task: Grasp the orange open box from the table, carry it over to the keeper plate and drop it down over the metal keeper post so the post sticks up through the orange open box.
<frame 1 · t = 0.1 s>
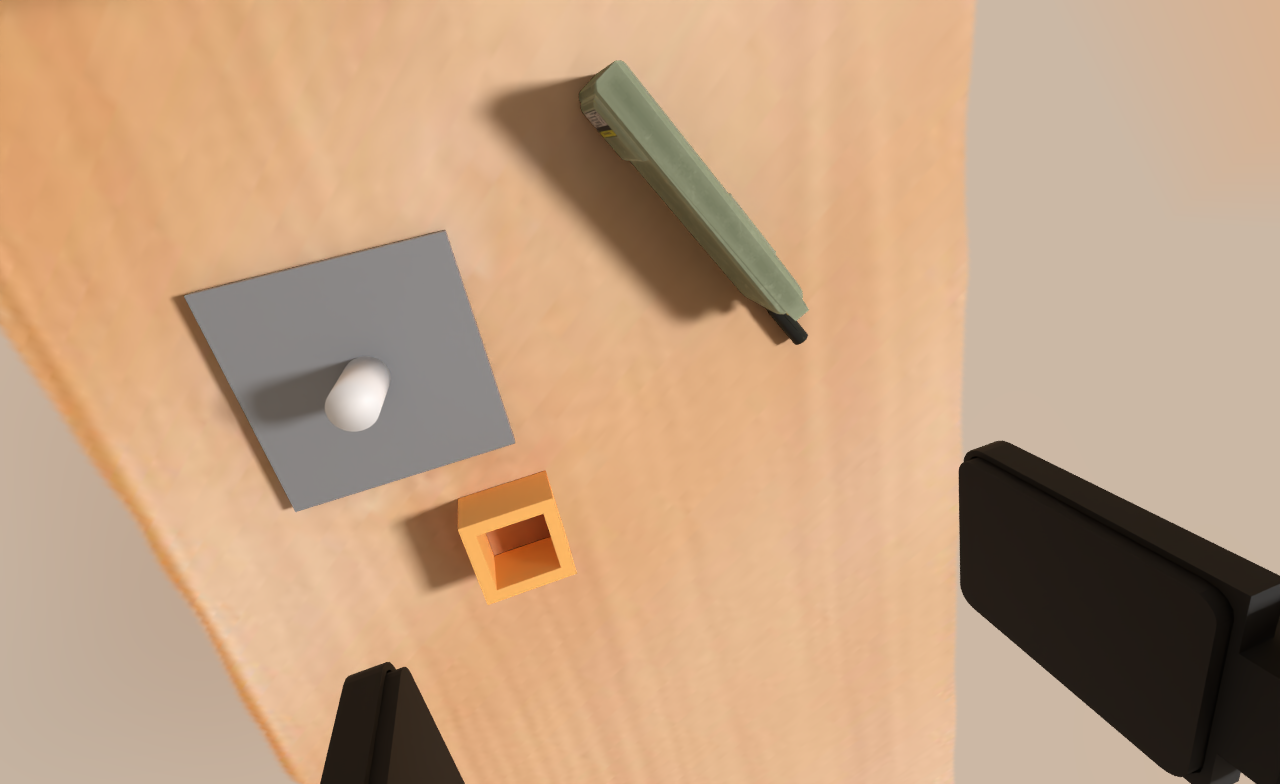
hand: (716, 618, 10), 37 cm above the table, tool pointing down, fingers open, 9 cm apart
orange open box: (515, 520, 49), on the table
handheld radio: (700, 224, 46), on the table
keeper plate: (369, 373, 43), on the table
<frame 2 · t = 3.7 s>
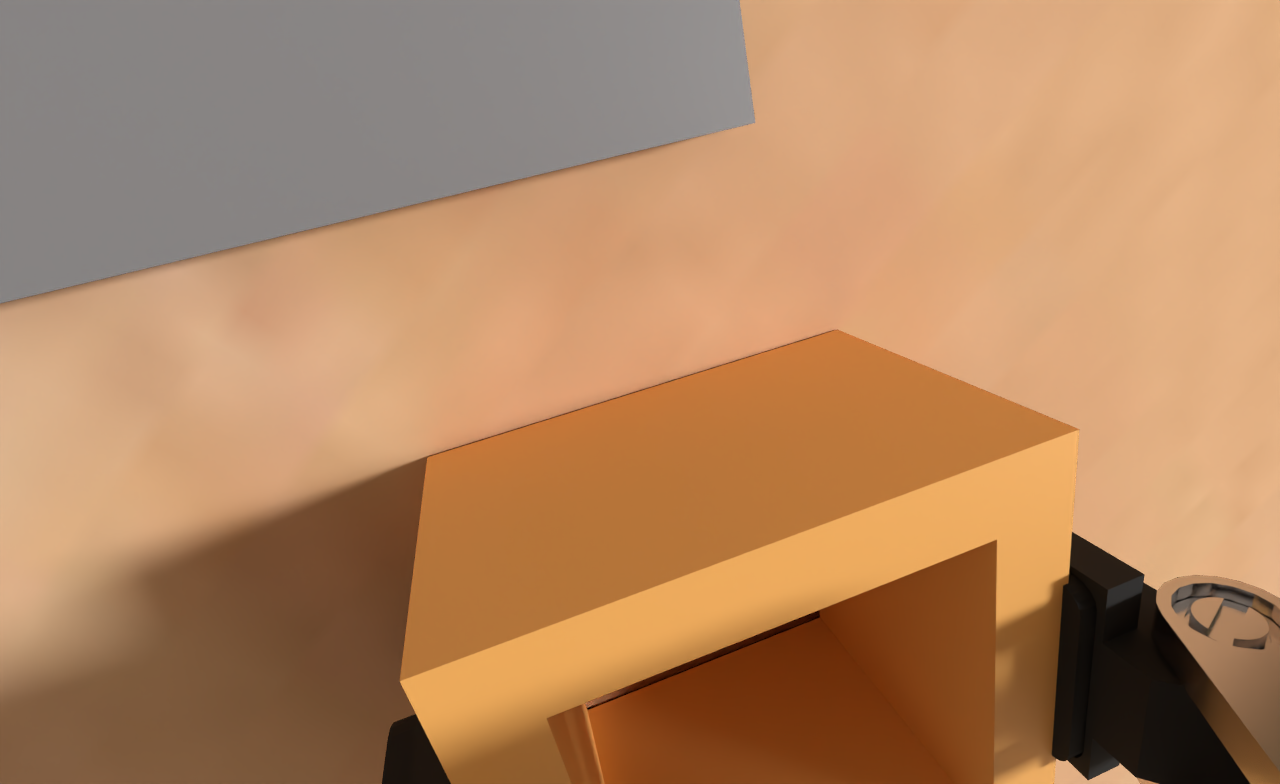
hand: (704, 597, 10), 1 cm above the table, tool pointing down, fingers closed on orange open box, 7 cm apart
orange open box: (684, 562, 11), on the table, touching gripper
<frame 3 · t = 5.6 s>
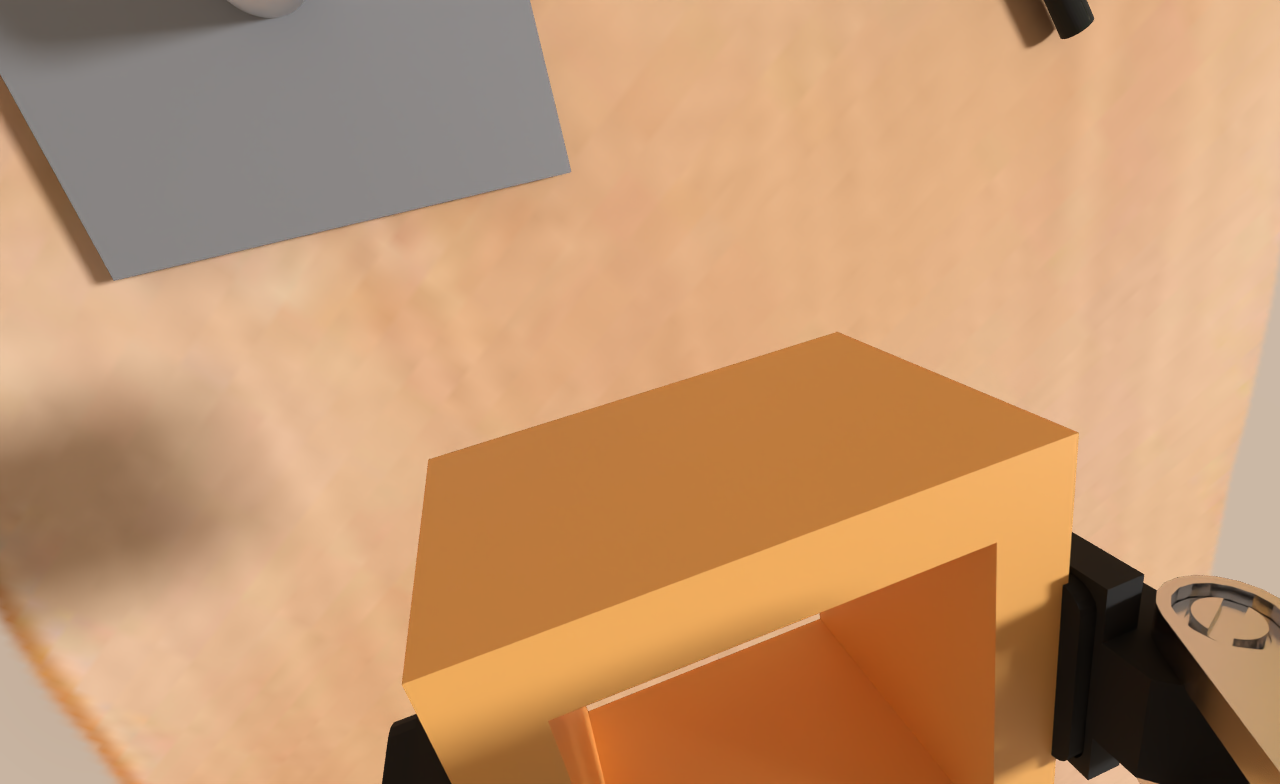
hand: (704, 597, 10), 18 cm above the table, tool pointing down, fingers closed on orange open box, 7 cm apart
orange open box: (685, 563, 11), point 17 cm above the table, touching gripper
when the fingers open (3 cm above the table, at t = 9.5 s): orange open box stays where it is, resting on keeper plate.
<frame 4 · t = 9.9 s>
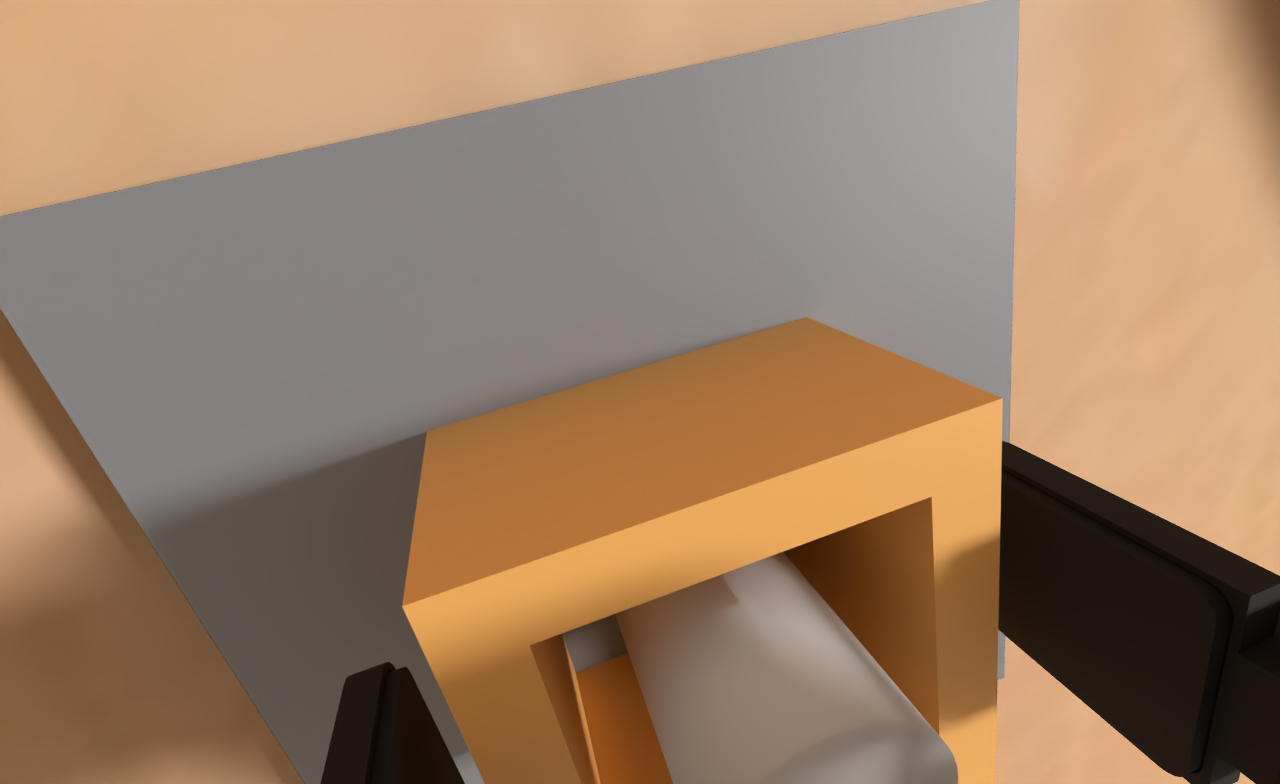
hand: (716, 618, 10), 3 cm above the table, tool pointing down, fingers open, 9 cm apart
orange open box: (666, 533, 12), point 1 cm above the table, touching keeper plate
keeper plate: (654, 509, 13), on the table
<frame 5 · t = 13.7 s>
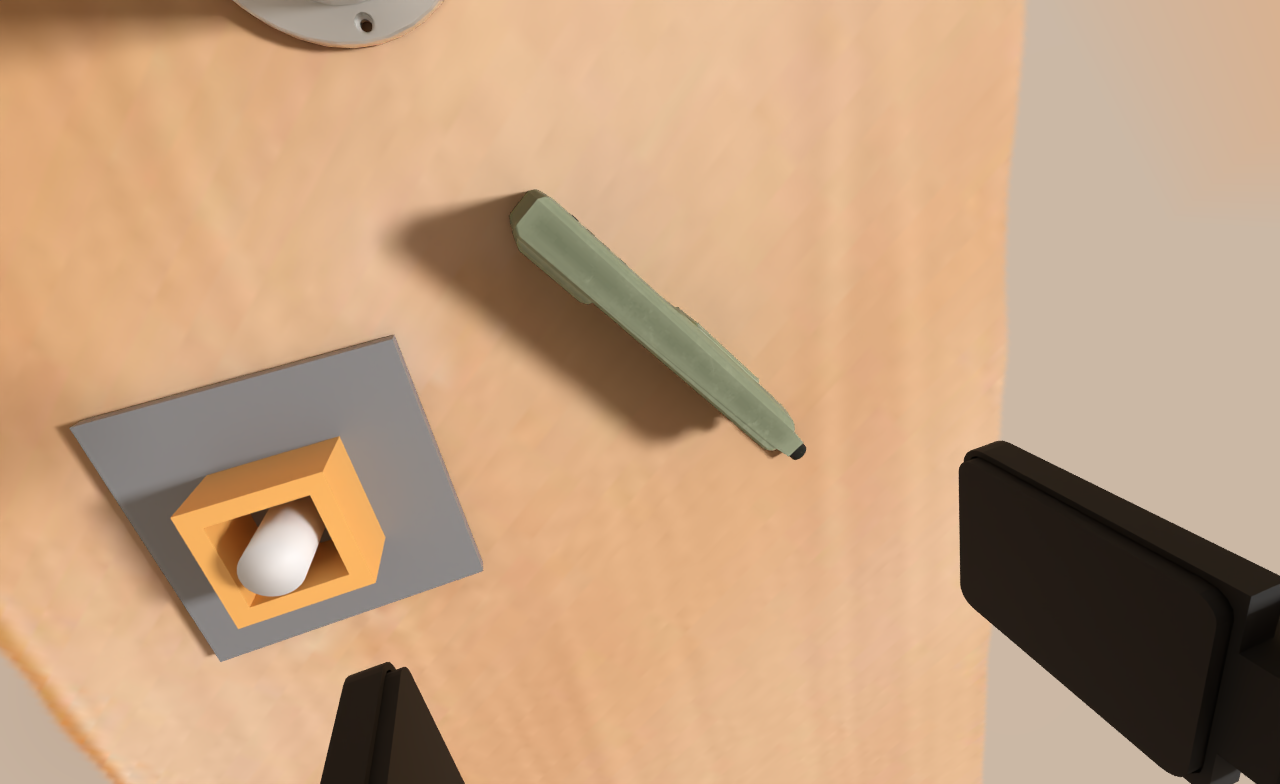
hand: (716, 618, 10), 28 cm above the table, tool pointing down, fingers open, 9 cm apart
orange open box: (300, 508, 35), point 1 cm above the table, touching keeper plate
handheld radio: (670, 339, 39), on the table
keeper plate: (306, 499, 36), on the table
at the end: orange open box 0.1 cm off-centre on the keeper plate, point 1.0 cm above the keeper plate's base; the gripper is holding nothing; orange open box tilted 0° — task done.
